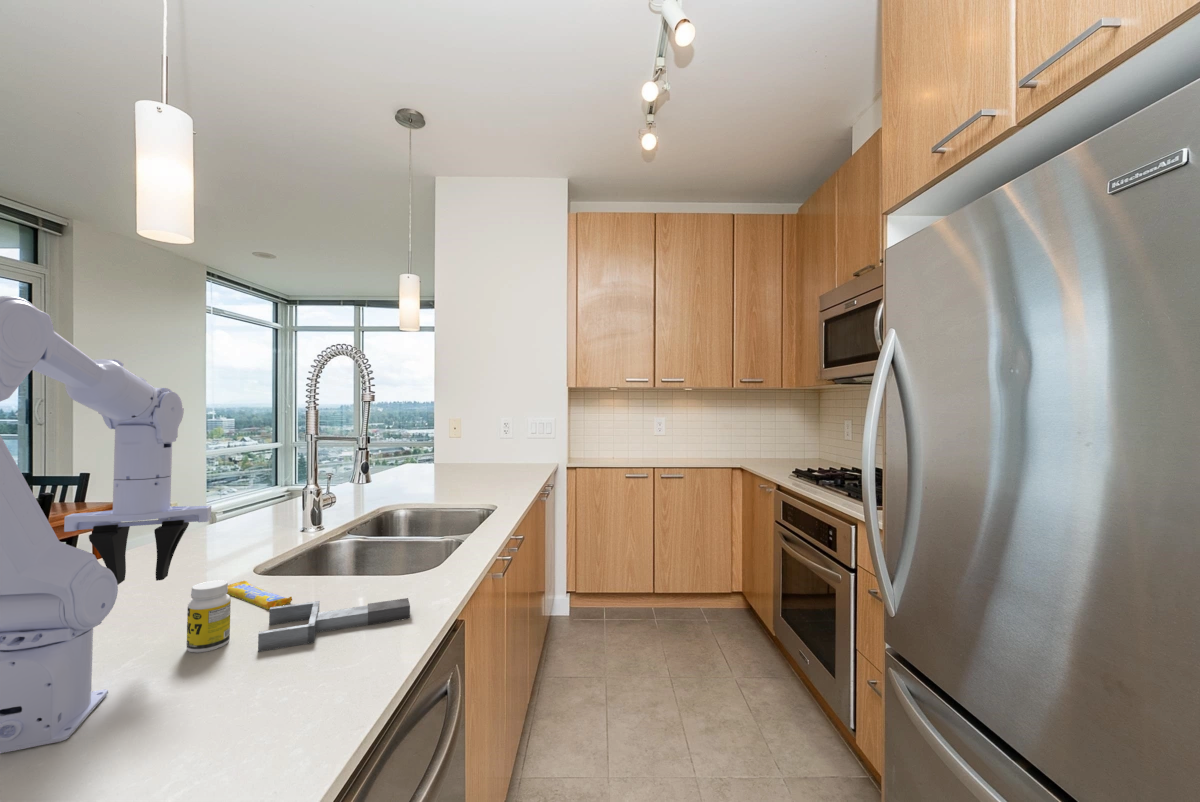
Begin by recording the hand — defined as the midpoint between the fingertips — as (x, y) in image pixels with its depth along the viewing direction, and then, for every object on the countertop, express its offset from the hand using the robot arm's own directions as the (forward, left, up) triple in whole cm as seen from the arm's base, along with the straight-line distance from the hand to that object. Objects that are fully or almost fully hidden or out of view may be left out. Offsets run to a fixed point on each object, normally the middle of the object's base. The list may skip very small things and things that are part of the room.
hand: (140, 580), depth 67 cm
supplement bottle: (0, -7, -10) cm, 13 cm away
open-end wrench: (0, -24, -10) cm, 26 cm away
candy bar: (+19, -10, -11) cm, 24 cm away
